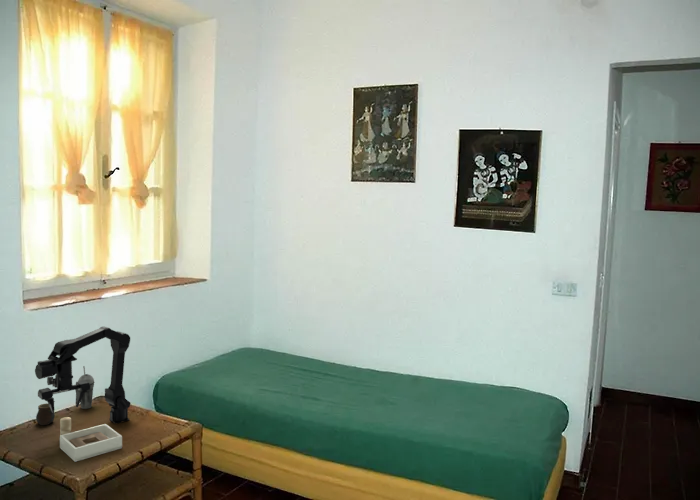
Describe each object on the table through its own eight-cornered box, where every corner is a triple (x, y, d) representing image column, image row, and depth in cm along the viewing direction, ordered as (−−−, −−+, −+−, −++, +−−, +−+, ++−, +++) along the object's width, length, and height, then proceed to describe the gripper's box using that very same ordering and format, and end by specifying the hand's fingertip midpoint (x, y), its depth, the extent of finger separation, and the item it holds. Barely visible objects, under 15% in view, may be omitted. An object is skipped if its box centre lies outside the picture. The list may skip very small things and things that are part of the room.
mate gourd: (38, 420, 255) (38, 398, 254) (57, 419, 256) (57, 397, 255) (33, 426, 248) (33, 404, 247) (53, 426, 249) (53, 403, 248)
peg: (69, 434, 241) (68, 416, 240) (72, 438, 238) (72, 419, 237) (59, 437, 238) (58, 418, 237) (62, 440, 235) (62, 421, 234)
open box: (105, 435, 241) (105, 423, 241) (122, 448, 230) (122, 436, 230) (59, 447, 229) (59, 435, 228) (74, 461, 217) (74, 449, 217)
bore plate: (100, 436, 238) (100, 431, 238) (112, 446, 229) (112, 441, 229) (69, 444, 229) (69, 439, 229) (81, 455, 221) (81, 450, 221)
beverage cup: (98, 405, 274) (97, 364, 272) (86, 410, 267) (86, 368, 265) (85, 403, 276) (85, 362, 274) (74, 408, 269) (73, 366, 267)
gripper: (80, 363, 248) (81, 399, 249) (32, 372, 234) (33, 409, 236) (90, 370, 240) (91, 406, 241) (41, 379, 227) (43, 418, 228)
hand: (65, 409), depth 237 cm, fingers open, 9 cm apart
